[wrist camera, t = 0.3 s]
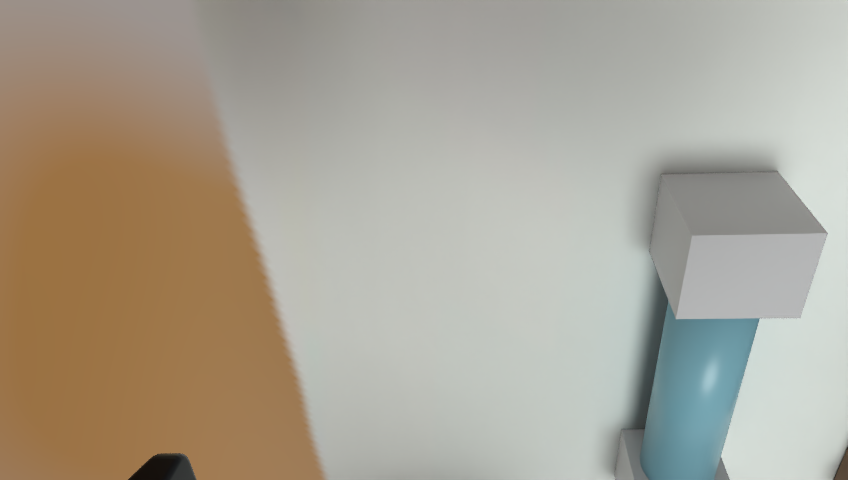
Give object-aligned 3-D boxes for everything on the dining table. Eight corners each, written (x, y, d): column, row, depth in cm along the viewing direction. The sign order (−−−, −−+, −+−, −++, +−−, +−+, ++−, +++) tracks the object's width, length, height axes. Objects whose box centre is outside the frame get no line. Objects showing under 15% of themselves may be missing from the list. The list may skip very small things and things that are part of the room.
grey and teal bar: (698, 475, 30) (724, 552, 27) (614, 475, 30) (630, 551, 27) (777, 171, 22) (827, 233, 19) (660, 173, 22) (692, 235, 19)
